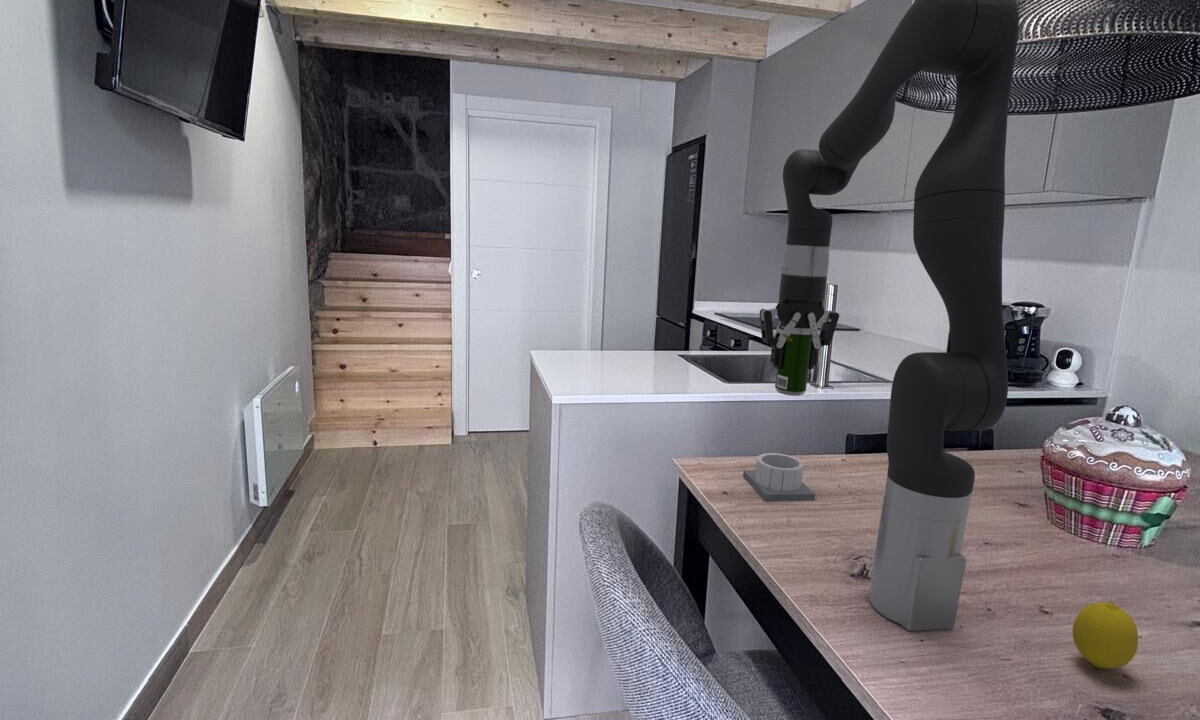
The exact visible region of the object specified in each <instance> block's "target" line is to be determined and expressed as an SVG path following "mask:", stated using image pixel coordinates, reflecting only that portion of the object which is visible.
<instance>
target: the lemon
mask: <svg viewBox="0 0 1200 720" xmlns="http://www.w3.org/2000/svg"><path fill="white" fill-rule="evenodd" d="M1072 625H1073V626H1072V638H1073V643H1074V645H1075V647H1076V649H1077V651H1078V652H1079V654H1081V656H1082V657H1083V658H1085V659H1086V660H1087V661H1088V662H1090V663H1091V665H1093V667H1094V666H1096V667H1098V668H1097V669H1103V668H1104V669H1105V668H1106V669H1119V668H1122V667H1124V666H1127V665H1128V664H1129V663H1130V662H1131V661H1132V660H1133V659H1134V657H1135V655H1137V651H1138V646H1139V634H1138V633H1139V632H1138V628H1137V625H1136V623H1135V621H1134V620H1133V618H1132V617H1131V616H1130V615H1129V613H1127V612H1126V611H1125V610H1123V609H1122V608H1120V607H1119V606H1118V605H1117V604H1116V603H1114V602H1101V601H1100V602H1092V603H1089V604H1088V605H1087V604H1086V605H1085V606H1084V607H1083V608H1081V610H1080V611H1079V612H1078V614H1077V615H1076V617H1075V619H1074V622H1073V624H1072ZM1096 667H1095V668H1096Z"/></svg>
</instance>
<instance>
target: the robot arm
mask: <svg viewBox="0 0 1200 720" xmlns="http://www.w3.org/2000/svg"><path fill="white" fill-rule="evenodd" d="M1019 13H1020V12H1019V7H1018V3H1017V0H914V2H913V3H912V4H911V5H910V7H909V8H908V10H907V11H906V12H905V14H904V15H903V17H902V18H901V20H900V21H899V23H898V25H897V26H896V27H895V30H894V31H893V33H892V34H891V36H890V37H889V39H888V41H887V43H886V44H885V46H884V48H883V49H882V51H881V52H880V54H879V55H878V57H877V59H876V60H875V62H874V64H873V66H872V68H870V70H869V73H867V76H866V78H865V79H864V81H863V83H862V84H861V85H860V87H859V89H858V91H857V92H856V93H855V94H854V96H853V97H852V99H851V100H850V102H849V103H848V104H847V105H846V107H844V108H843V110H842V111H840V113H839V114H838V115H837V116H836V118H834V120H833V121H832V122H831V124H829V125H828V126H827V128H826V129H825V131H823V133H822V135H821V136H820V139H819V141H818V149H806V148H805V149H804V148H803V149H802V148H800V149H796V150H794V151H793V152H791V154H789V156H788V157H787V159H786V161H785V163H784V166H783V169H782V183H783V188H784V194H785V200H786V207H787V217H788V225H787V234H786V241H785V242H786V245H785V248H784V253H783V258H782V263H781V267H780V269H781V274H780V282H779V292H778V302H777V305H776V306H775V308H768V309H765V308H761V309H760V310H759V320H760V330H761V333H760V334H761V341H762V342H764V343H766V344H768V345H770V346H771V352H770V360H769V361H770V364H771V365H772V367H773V368H775V369H776V370H777V369H781V367H782V358H783V348H782V347H783V345H784V343H785V341H786V339H787V337H789V336H790V333H791V332H792V331H793V328H794V327H806V328H811V332H812V336H813V338H812V346H811V354H810V362H809V370H814V367H816V366H817V364H818V357H819V351H820V348H822V347H825V346H826V347H827V346H830V345H831V343H832V340H833V338H834V334H835V330H836V328H837V325H838V321H839V319H840V313H838V312H836V311H832V310H826V309H825V308H824V301H825V296H826V289H827V288H826V287H827V279H828V273H829V265H830V244H831V236H832V228H833V215H832V214H831V212H829V211H826V210H824V209H821V208H817V207H815V206H814V205H813V203H812V201H811V197H810V195H815V196H832V195H836V194H838V193H841V192H842V191H843V190H845V188H847V186H848V184H849V182H850V181H851V179H852V177H853V174H854V172H855V171H856V169H857V167H858V165H859V163H860V162H861V161H862V159H863V158H864V157H865V156H866V155H867V154H868V153H870V152H871V151H872V149H874V147H876V146H877V145H878V144H879V143H880V142H881V141H882V140H883V139H884V138H885V136H886V134H887V133H888V132H889V130H890V128H891V125H892V123H893V120H894V117H895V110H896V99H897V94H898V91H899V90H900V89H901V88H902V87H903V86H904V85H905V84H906V83H907V82H908V81H909V80H911V79H912V78H913V77H914V76H916V75H917V74H919V73H921V72H924V73H929V74H937V75H938V74H939V75H947V76H948V75H949V76H954V79H955V84H956V85H955V86H956V89H955V90H956V91H955V93H956V94H955V105H954V113H953V117H952V120H951V124H950V126H949V128H948V130H947V132H946V134H945V136H944V138H943V139H942V141H941V142H940V143H939V145H938V146H937V148H936V150H935V151H934V153H933V154H932V155H931V157H930V158H929V160H928V162H927V163H926V165H925V167H924V168H923V170H922V172H921V174H920V176H919V177H918V181H917V182H916V185H915V189H914V195H913V196H914V197H913V225H912V226H913V227H912V228H913V231H912V232H913V233H912V234H913V235H912V236H913V239H912V240H913V244H914V248H915V250H916V253H917V256H918V259H919V260H920V262H921V264H922V266H923V268H924V269H925V271H926V273H927V275H928V277H929V279H930V280H931V282H932V283H933V285H934V287H935V288H936V290H937V292H938V293H939V295H940V297H941V299H942V301H943V303H944V306H945V309H946V313H947V317H948V323H949V335H950V336H949V340H950V343H949V347H950V349H949V352H941V351H940V352H936V351H927V352H926V351H925V352H924V351H923V352H914V353H911V354H908V355H907V356H906V357H904V358H903V359H902V360H901V361H900V363H899V365H898V366H897V368H896V370H895V372H894V376H893V378H892V385H891V391H890V399H889V400H890V403H889V412H888V424H887V434H886V435H887V436H886V454H887V459H888V462H887V463H888V467H887V473H886V474H887V475H886V481H885V486H884V487H885V488H884V492H883V493H884V495H883V498H882V499H883V501H882V506H881V512H880V518H879V519H880V520H879V524H878V525H879V527H878V533H877V538H876V539H877V540H876V546H875V553H874V558H873V565H872V575H871V581H870V589H869V594H868V598H869V599H868V600H869V602H870V604H871V606H872V607H873V609H875V610H876V612H878V613H879V614H881V615H882V616H883V617H885V618H887V619H888V620H891V622H892V621H893V622H894V623H897V624H899V625H901V626H902V627H903V628H904V629H906V630H907V631H909V632H913V631H914V632H915V631H931V630H932V631H934V630H953V629H954V628H955V624H956V618H957V612H958V607H959V602H960V597H961V591H962V586H963V580H964V576H965V568H966V564H967V558H966V556H964V555H962V551H963V550H962V549H963V544H964V537H965V533H966V525H967V521H968V515H969V510H970V506H971V500H972V495H973V489H974V485H975V484H974V483H975V477H976V472H975V470H974V468H973V466H972V465H971V464H970V462H967V461H966V460H964V459H963V458H961V457H959V456H957V455H954V454H951V453H950V452H946V451H944V440H945V439H944V437H945V431H949V432H952V431H953V432H955V431H957V432H958V431H959V432H960V431H983V430H987V429H990V428H992V427H993V426H994V425H996V424H997V423H998V422H999V421H1000V419H1001V418H1002V416H1003V415H1004V412H1005V409H1006V405H1007V401H1008V395H1009V373H1008V371H1009V370H1008V360H1007V347H1006V336H1005V327H1004V326H1005V324H1004V313H1003V242H1004V241H1003V240H1004V227H1005V208H1006V207H1005V206H1006V202H1005V201H1006V181H1005V180H1006V177H1005V176H1006V175H1005V173H1006V169H1005V168H1006V164H1005V163H1006V150H1007V149H1006V148H1007V147H1006V145H1007V128H1008V117H1009V116H1008V115H1009V106H1010V98H1011V97H1010V96H1011V89H1012V82H1013V77H1014V76H1013V75H1014V69H1015V60H1016V55H1017V48H1018V40H1019V32H1020V30H1019V28H1020V14H1019ZM776 316H777V317H778V319H779V323H778V325H777V326H776V329H775V333H774V328H773V327H774V326H773V322H775V318H776ZM821 319H822V325H821V328H820V331H819V329H818V324H817V323H818V322H819V321H820V320H821ZM783 326H785V329H784V330H782V329H783Z"/></svg>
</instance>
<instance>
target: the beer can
mask: <svg viewBox="0 0 1200 720" xmlns="http://www.w3.org/2000/svg"><path fill="white" fill-rule="evenodd" d="M784 329H785V326H783V329H782V330H784ZM812 338H813V336H812V332H811V328H806V327H794V328H793V331H792V332H791V333H790V336H789V337H787V339H786V341H785V343H784V345H783V347H782V348H783V358H782V367H781V369H776V375H775V383H774V388H775V390H776V391H775V392H777V393H779V394H781V395H786V396H790V397H792V396H793V397H798V396H803V395H805V393H806V391H807V383H808V377H809V370H810V369H809V362H810V354H811V346H812Z"/></svg>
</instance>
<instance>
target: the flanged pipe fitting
mask: <svg viewBox="0 0 1200 720" xmlns="http://www.w3.org/2000/svg"><path fill="white" fill-rule="evenodd" d="M755 462H756V464H755V469H752V470H751V469H749V470H746V469H744V470H743V472H742V473H743V474H742V476H743V478H744V479H745V480H746V481H747V482H748V484H750V486H751V487H752V488H753V489H754V490H755V491H756V492H757V494H759V496H760V497H761V498H762V499H763V500H764V501H765V502H782V501H784V502H785V501H786V502H787V501H790V502H791V501H815V499H816V493H815V492H814V491H813V490H812V489H811V488H809V487H808V485H806V484H805V483H804V482H803V476H804V466H805V465H804V464H805V463H804V462H803V461H802V460H800V459H799V458H797V457H794V456H791V455H788V454H783V453H777V452H774V453H773V452H771V453H770V452H768V453H762V454H758V456H757V458H756V461H755Z"/></svg>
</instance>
